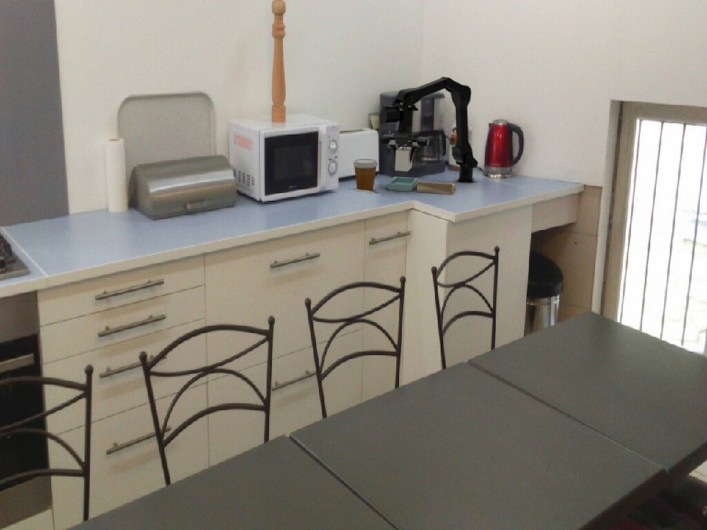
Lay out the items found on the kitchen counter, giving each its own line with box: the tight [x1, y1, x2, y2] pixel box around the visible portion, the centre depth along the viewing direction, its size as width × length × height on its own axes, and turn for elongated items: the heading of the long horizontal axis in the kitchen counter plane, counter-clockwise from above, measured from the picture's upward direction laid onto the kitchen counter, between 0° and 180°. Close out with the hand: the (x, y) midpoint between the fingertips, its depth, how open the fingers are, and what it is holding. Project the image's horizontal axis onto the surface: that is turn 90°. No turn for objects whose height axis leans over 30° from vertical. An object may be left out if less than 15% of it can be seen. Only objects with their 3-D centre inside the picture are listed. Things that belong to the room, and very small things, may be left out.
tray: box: [387, 176, 419, 192], centre depth 307 cm, size 14×10×2 cm
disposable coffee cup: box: [352, 158, 379, 193], centre depth 298 cm, size 10×10×12 cm
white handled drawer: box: [394, 143, 413, 172], centre depth 303 cm, size 9×5×10 cm, turn 165°
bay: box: [416, 181, 456, 195], centre depth 301 cm, size 11×14×4 cm
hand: (403, 161), depth 304 cm, fingers closed on white handled drawer, 5 cm apart
